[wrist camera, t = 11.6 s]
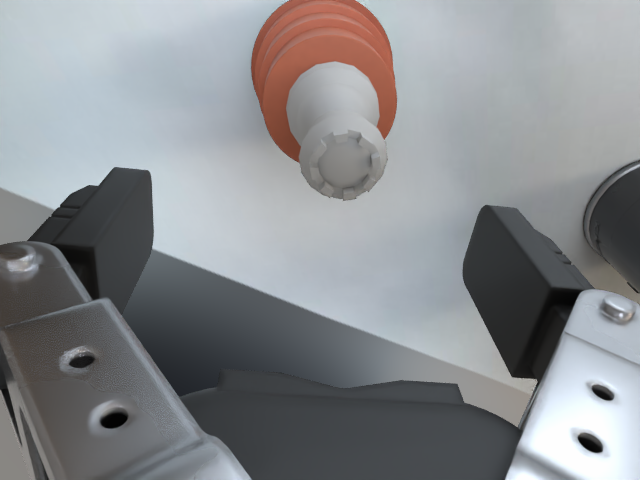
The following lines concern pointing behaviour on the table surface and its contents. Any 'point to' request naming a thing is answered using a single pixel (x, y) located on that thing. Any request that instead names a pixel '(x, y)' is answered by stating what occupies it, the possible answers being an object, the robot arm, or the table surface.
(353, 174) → the rook chess piece
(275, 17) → the cup stack
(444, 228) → the table surface
